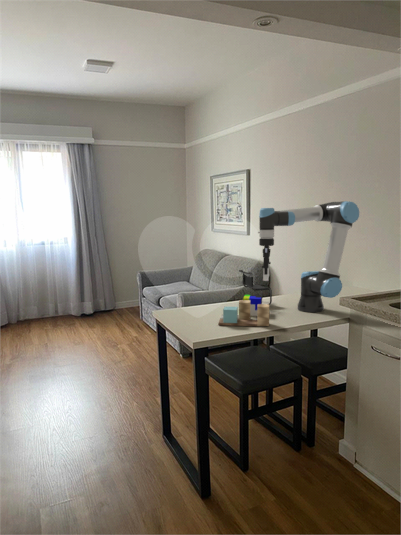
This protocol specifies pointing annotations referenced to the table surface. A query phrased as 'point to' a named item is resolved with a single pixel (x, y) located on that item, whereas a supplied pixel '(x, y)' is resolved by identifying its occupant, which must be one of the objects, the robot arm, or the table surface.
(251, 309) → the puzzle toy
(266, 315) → the lane front
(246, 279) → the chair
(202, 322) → the table surface
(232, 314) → the cube
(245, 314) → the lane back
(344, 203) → the robot arm
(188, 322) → the table surface
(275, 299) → the table surface
